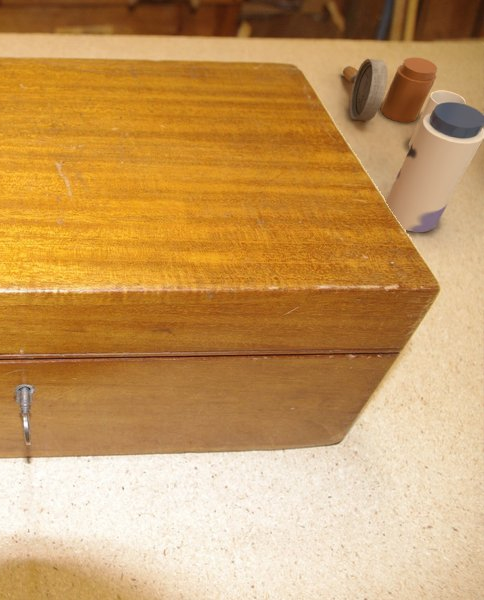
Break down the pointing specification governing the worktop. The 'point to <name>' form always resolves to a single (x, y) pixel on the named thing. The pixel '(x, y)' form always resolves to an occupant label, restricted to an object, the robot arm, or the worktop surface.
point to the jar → (409, 89)
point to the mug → (433, 101)
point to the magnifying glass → (366, 88)
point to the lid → (457, 120)
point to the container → (430, 176)
